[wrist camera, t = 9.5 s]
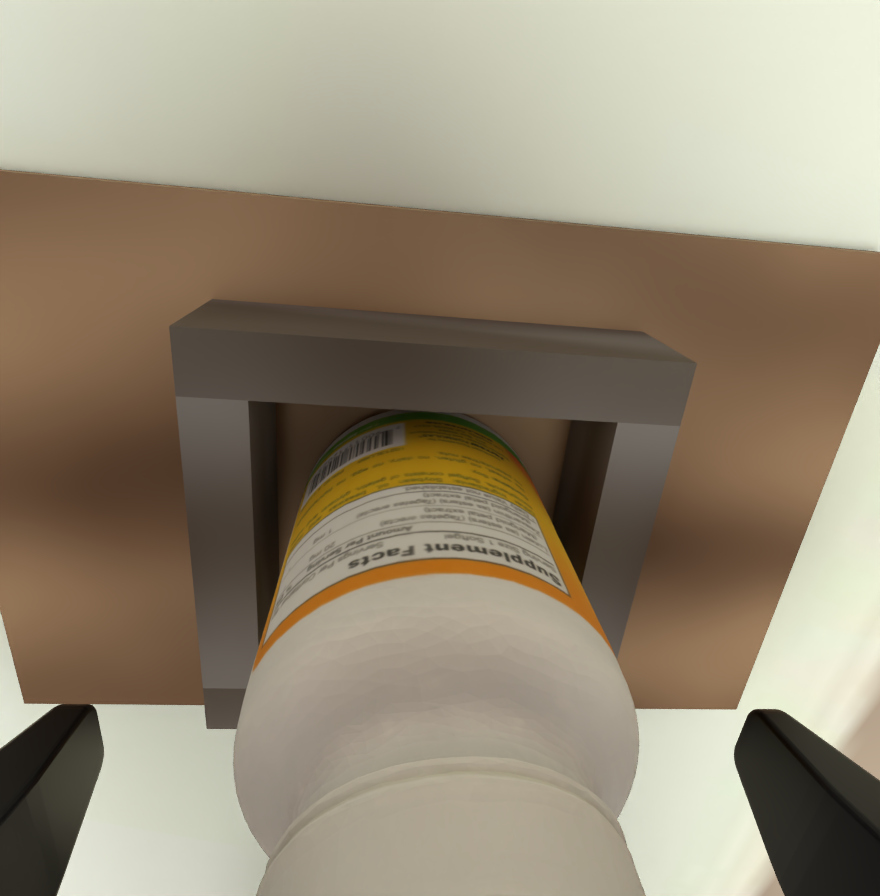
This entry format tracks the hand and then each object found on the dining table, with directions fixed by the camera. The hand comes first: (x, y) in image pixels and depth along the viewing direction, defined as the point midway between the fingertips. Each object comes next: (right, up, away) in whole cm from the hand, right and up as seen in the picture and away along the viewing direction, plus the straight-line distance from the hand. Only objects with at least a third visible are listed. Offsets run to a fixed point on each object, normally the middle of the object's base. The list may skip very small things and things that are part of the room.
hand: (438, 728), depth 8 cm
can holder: (-1, +3, +7) cm, 8 cm away
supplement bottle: (0, +2, +6) cm, 7 cm away
